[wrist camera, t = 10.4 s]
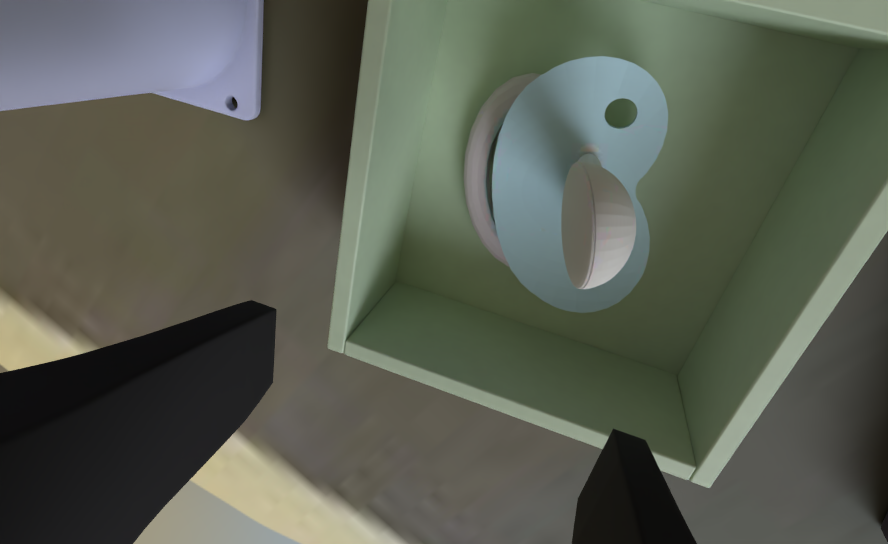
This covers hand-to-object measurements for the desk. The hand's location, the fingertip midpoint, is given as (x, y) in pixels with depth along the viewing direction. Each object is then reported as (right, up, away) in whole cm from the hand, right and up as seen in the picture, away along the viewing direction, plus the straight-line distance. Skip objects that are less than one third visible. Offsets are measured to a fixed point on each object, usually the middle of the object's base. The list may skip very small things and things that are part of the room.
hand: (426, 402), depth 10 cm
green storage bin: (+5, +6, +7) cm, 10 cm away
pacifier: (+4, +6, +6) cm, 10 cm away
